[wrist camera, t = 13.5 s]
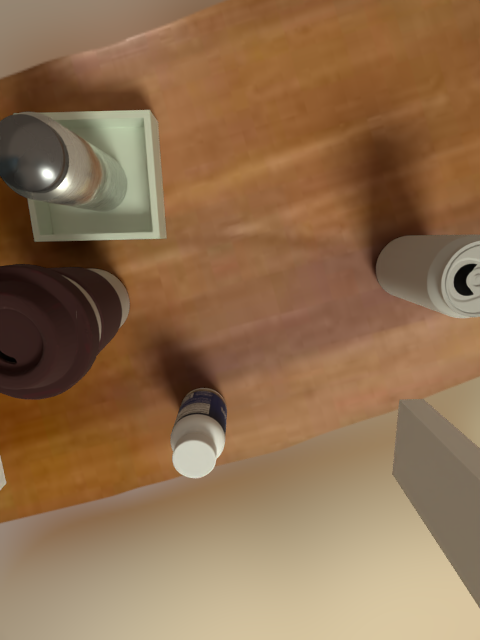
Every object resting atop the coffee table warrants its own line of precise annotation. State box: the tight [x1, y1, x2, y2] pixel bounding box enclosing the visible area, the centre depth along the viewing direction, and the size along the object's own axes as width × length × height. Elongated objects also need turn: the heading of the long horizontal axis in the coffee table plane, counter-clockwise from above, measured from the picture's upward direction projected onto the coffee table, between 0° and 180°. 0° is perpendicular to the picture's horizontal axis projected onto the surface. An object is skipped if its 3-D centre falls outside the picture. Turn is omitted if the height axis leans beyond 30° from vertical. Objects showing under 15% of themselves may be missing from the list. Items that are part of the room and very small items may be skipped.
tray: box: [13, 110, 166, 242], centre depth 33 cm, size 12×11×3 cm
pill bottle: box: [171, 388, 227, 478], centre depth 35 cm, size 5×5×10 cm
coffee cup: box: [0, 264, 130, 399], centre depth 30 cm, size 10×10×15 cm
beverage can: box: [376, 235, 480, 318], centre depth 30 cm, size 6×6×12 cm
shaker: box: [0, 112, 127, 212], centre depth 28 cm, size 6×6×12 cm
